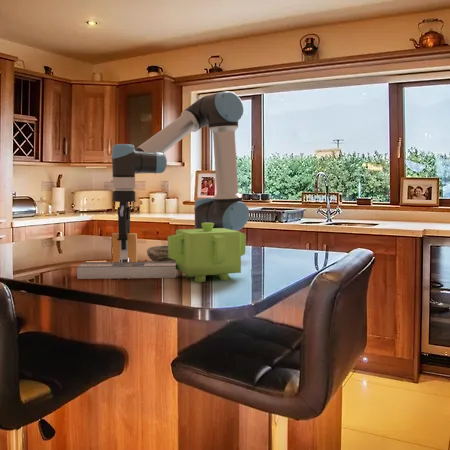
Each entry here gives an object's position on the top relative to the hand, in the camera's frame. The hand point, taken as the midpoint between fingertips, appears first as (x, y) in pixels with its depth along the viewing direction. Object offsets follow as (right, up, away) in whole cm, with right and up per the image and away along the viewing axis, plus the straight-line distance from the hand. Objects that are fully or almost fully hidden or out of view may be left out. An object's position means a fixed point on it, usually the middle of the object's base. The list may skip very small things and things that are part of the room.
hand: (124, 258), depth 165 cm
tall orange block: (0, -4, 0) cm, 4 cm away
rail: (+4, -5, -13) cm, 15 cm away
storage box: (+29, -5, -16) cm, 34 cm away
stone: (+13, -3, +12) cm, 18 cm away
